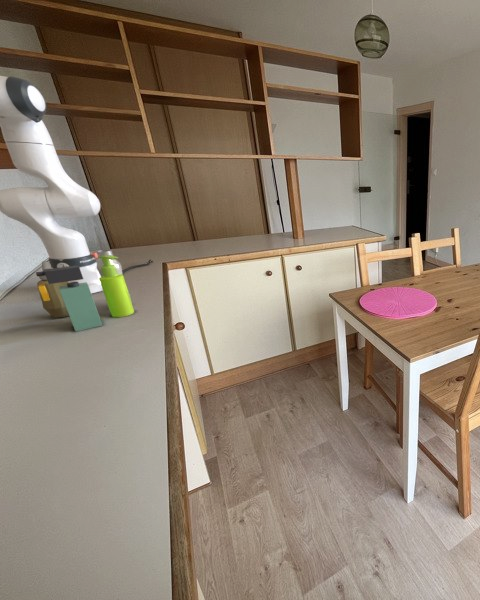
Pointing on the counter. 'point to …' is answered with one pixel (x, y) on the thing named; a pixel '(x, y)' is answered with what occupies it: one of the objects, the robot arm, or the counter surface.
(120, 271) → the plastic bottle
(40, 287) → the block
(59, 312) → the squeeze bottle
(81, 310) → the spray bottle
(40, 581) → the counter surface
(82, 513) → the counter surface
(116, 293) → the soap dispenser
